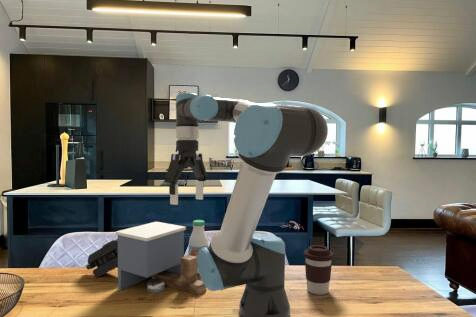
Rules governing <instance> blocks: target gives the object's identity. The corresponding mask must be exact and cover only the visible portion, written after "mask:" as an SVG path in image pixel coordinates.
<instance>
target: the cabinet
mask: <svg viewBox="0 0 476 317" xmlns="http://www.w3.org/2000/svg"><path fill="white" fill-rule="evenodd" d="M186 230H187V226H183V225H177V224H173V223H166V222H160V221H153V222H150V223H149V222H148V223H144V224H141V225H138V226H137V225H136V226H133V227H128V228H125V229H120V230H117V231H115V236H117V239H118V268H117V290H120V291H122V290H125V289H127V288H129V287H132V286H135V285H136V284H139V283H140V282H143V280H144V281H146V280H147V279H150V277H151V278H152V275H154V274H157V273H159V272H162V271H167V272H171V273H175V274H178V275H181V258H182V257H185V231H186ZM145 279H146V280H145Z"/></svg>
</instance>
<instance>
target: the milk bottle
mask: <svg viewBox="0 0 476 317" xmlns="http://www.w3.org/2000/svg"><path fill="white" fill-rule="evenodd" d="M192 227H193V228H192V232H191V235H190V236H189V240H188V255H191V256H195V257H197V256H198V252H199V250H200V249H202V248H204V247H206V248H207V247H209V239H208V236H207V234H206V231H205V220H203V219H196V220H193V221H192ZM197 275H200V274H199V269H198V263H197Z"/></svg>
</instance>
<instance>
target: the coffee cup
mask: <svg viewBox="0 0 476 317" xmlns="http://www.w3.org/2000/svg"><path fill="white" fill-rule="evenodd" d="M303 257H304V258H305V261H304V267H305V268H304V270H305V279H306V290H307V291H308V293H310V294H313V295H318V296H319V295H320V296H321V295H322V296H323V295H326V294H328V293H329V292H330V290H329V289H330V281H331V276H332V274H331V273H332V260H333V259H334V252H332V251H331V250H330V248H329V247H327V246H323V245H316V244H315V245H310V246H308V248H307V249H305V250H304V251H303Z"/></svg>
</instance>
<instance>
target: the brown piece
mask: <svg viewBox="0 0 476 317" xmlns="http://www.w3.org/2000/svg"><path fill="white" fill-rule="evenodd" d="M151 279H163V280H164V281H165V286H168V287H171V288H173V289H174V288H175V289H178V290H182V291H184V292H188V293H192V294H194V295H198V296H201V295H202V294H203V293H205V292H207V288H206V287H205V285H204V284H203V282H202V280H200V279H198V274H197V257H195V256H191V255H189V254H187V255H184V257H182V258H181V275H178V274H175V273H171V272H167V271H162V272H159V273H157V274H154V275H152V277H151Z"/></svg>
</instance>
